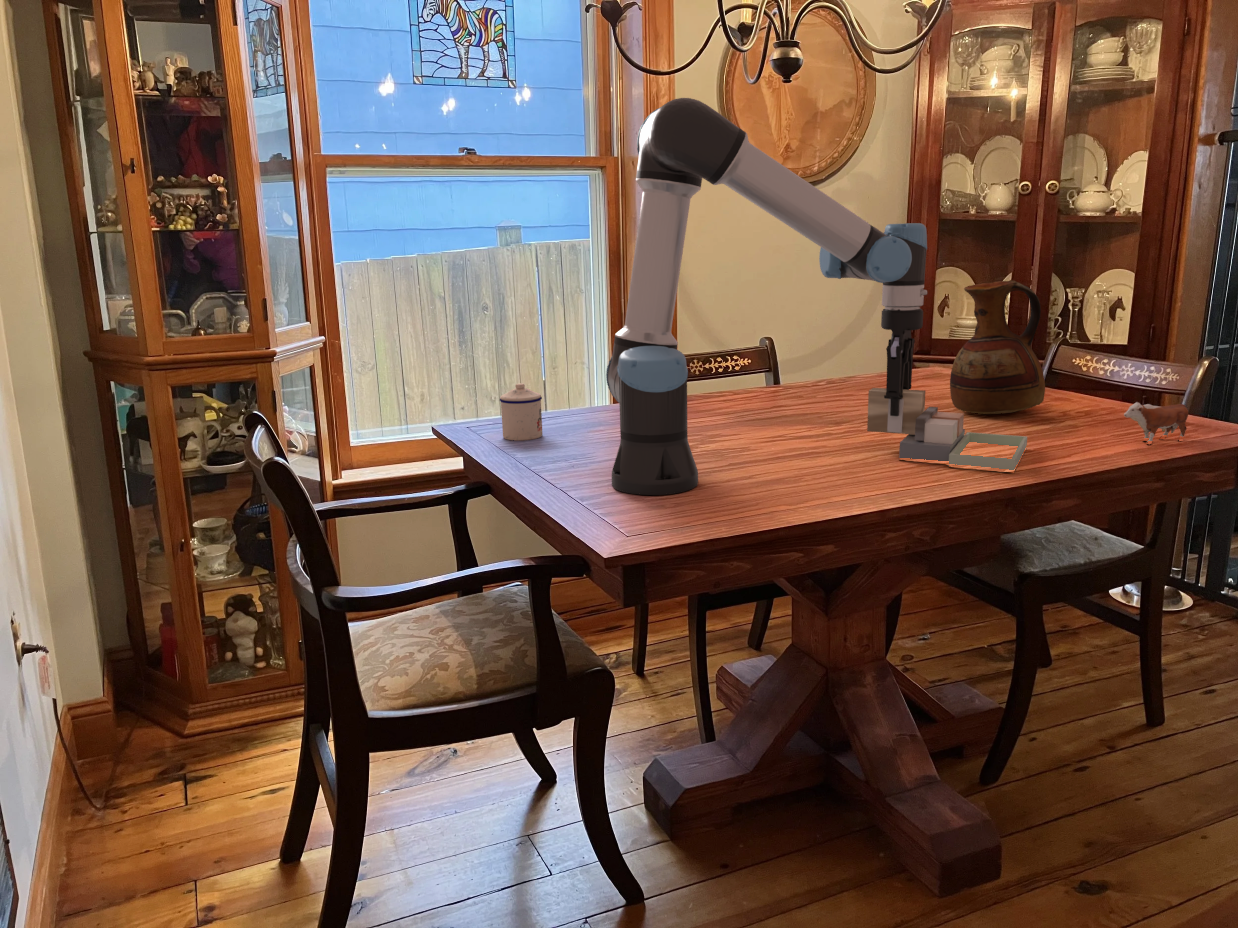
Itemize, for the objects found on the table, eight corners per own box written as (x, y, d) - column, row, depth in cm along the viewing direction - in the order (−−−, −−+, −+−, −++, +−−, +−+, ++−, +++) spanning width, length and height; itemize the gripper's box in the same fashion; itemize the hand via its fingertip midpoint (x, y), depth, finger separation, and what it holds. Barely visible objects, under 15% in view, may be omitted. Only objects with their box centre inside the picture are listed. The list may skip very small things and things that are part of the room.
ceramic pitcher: (938, 405, 228) (945, 278, 220) (1024, 404, 226) (1034, 276, 219) (962, 422, 209) (971, 283, 201) (1056, 420, 207) (1068, 281, 200)
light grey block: (952, 444, 174) (953, 425, 173) (923, 442, 176) (924, 423, 175) (956, 438, 178) (957, 420, 177) (929, 436, 180) (930, 418, 180)
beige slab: (923, 440, 176) (925, 398, 174) (861, 436, 181) (862, 394, 179) (936, 427, 187) (938, 387, 185) (877, 423, 192) (878, 384, 190)
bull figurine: (1117, 442, 186) (1121, 401, 184) (1176, 437, 189) (1181, 397, 187) (1133, 447, 182) (1137, 405, 180) (1193, 442, 185) (1198, 400, 183)
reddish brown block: (958, 436, 180) (959, 418, 179) (931, 434, 182) (932, 416, 181) (962, 431, 184) (963, 413, 183) (936, 429, 186) (937, 411, 186)
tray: (1013, 473, 166) (1014, 459, 165) (948, 467, 171) (949, 454, 171) (1026, 449, 183) (1027, 436, 182) (966, 444, 188) (967, 432, 188)
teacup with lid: (548, 438, 204) (545, 385, 201) (506, 443, 202) (503, 388, 199) (535, 428, 215) (532, 377, 213) (495, 432, 213) (492, 380, 210)
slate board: (949, 465, 173) (950, 446, 172) (898, 460, 177) (899, 442, 176) (963, 446, 187) (964, 429, 186) (916, 442, 191) (917, 425, 190)
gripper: (914, 312, 170) (907, 440, 175) (931, 304, 184) (925, 422, 189) (871, 311, 173) (867, 437, 179) (892, 303, 187) (887, 420, 193)
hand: (897, 429), depth 184 cm, fingers closed on beige slab, 3 cm apart
